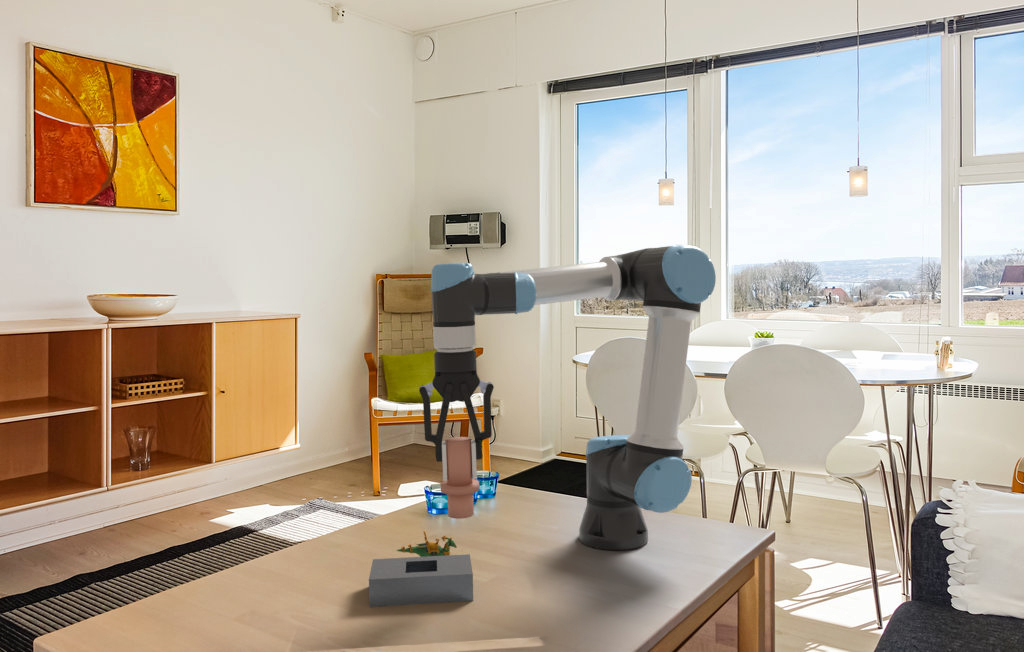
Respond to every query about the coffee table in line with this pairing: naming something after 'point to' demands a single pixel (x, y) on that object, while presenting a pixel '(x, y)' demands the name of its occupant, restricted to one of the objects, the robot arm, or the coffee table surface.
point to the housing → (420, 580)
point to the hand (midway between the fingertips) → (459, 477)
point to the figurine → (430, 548)
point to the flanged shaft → (459, 478)
